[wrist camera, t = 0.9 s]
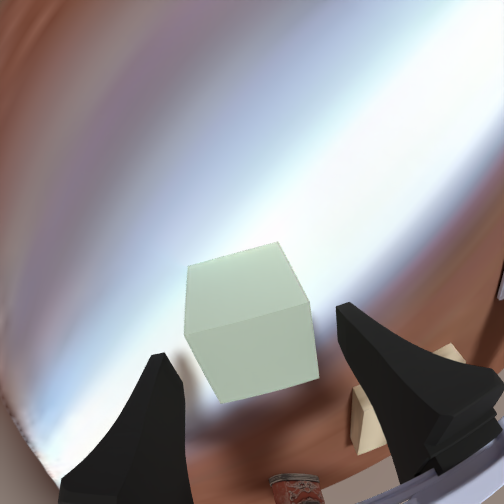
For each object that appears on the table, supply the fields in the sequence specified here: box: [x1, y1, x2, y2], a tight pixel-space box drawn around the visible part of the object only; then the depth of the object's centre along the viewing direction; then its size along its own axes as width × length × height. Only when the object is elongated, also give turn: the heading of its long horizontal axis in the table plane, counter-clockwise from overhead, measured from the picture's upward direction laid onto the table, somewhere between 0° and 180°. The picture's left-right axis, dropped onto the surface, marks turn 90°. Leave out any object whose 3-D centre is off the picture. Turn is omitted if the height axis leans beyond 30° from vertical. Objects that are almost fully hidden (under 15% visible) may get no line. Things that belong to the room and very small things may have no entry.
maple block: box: [350, 343, 466, 455], centre depth 23 cm, size 10×10×3 cm
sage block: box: [184, 242, 319, 404], centre depth 13 cm, size 4×4×5 cm
